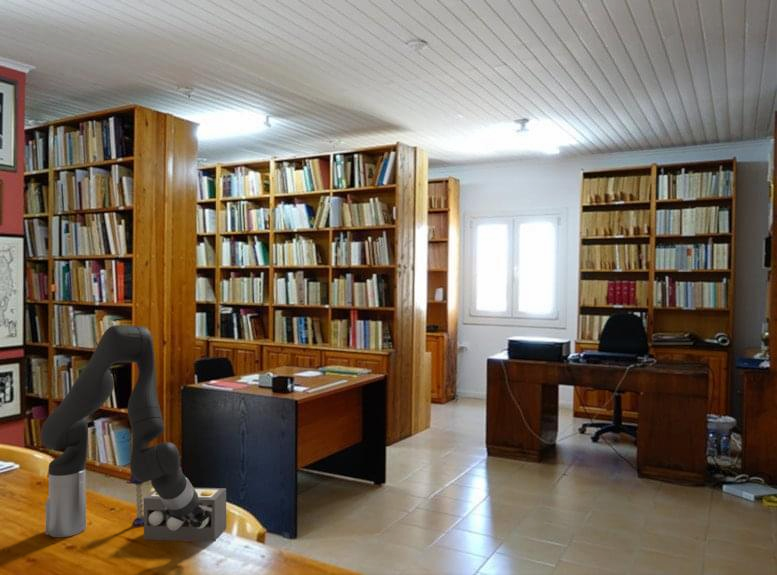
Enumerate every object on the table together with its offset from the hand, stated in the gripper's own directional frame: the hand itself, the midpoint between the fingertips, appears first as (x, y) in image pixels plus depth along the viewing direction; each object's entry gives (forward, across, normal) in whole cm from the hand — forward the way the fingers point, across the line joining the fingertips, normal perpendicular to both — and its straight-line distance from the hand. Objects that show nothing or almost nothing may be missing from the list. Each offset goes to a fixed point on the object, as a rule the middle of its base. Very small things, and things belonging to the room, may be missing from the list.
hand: (198, 523), depth 159 cm
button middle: (+3, +6, 0) cm, 7 cm away
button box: (+9, +6, -1) cm, 11 cm away
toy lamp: (+13, +23, -4) cm, 27 cm away
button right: (+4, 0, -2) cm, 4 cm away
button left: (+5, +13, -2) cm, 14 cm away
